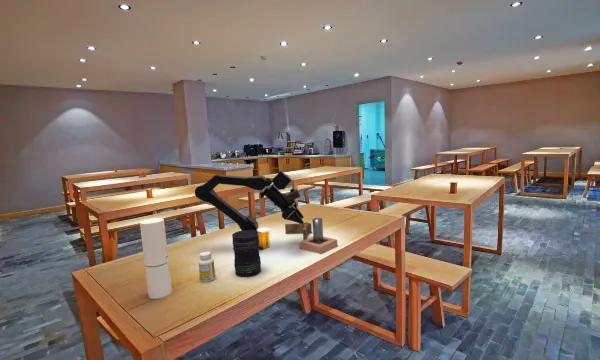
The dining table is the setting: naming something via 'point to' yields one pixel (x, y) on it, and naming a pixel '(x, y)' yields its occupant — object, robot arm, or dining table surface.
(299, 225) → the v block
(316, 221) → the steel axle
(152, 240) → the cylindrical container
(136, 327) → the dining table surface
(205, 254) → the supplement bottle
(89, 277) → the dining table surface
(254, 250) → the storage jar
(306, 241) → the sleeve block
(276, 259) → the dining table surface
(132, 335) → the dining table surface
